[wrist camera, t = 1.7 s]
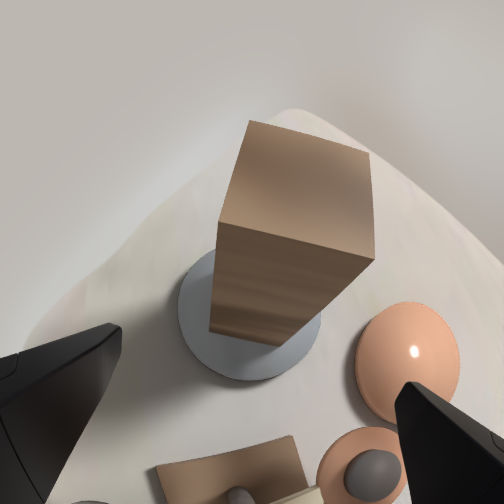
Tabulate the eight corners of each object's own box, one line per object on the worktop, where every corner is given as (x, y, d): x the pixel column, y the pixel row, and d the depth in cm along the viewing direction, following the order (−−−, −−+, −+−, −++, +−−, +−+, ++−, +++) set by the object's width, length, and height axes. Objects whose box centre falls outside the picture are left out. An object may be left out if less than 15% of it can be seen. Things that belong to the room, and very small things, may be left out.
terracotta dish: (423, 443, 19) (432, 443, 18) (330, 386, 21) (337, 384, 20) (463, 344, 24) (471, 341, 23) (386, 284, 25) (393, 279, 24)
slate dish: (265, 409, 20) (268, 409, 18) (149, 320, 21) (147, 315, 20) (338, 300, 24) (344, 294, 23) (235, 227, 26) (237, 219, 25)
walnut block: (280, 346, 21) (374, 259, 9) (208, 331, 20) (218, 221, 9) (289, 282, 23) (368, 153, 12) (224, 267, 23) (249, 120, 11)
